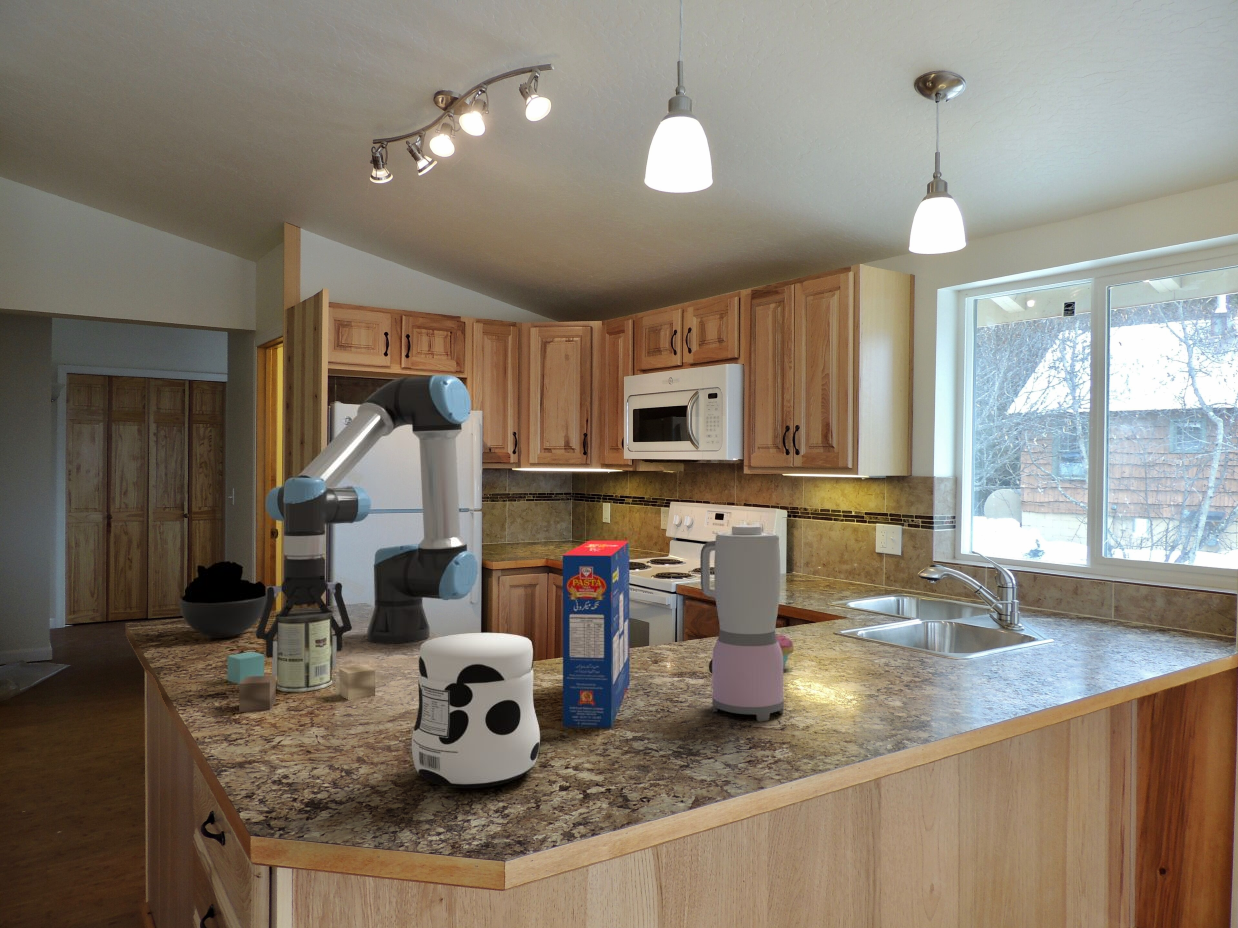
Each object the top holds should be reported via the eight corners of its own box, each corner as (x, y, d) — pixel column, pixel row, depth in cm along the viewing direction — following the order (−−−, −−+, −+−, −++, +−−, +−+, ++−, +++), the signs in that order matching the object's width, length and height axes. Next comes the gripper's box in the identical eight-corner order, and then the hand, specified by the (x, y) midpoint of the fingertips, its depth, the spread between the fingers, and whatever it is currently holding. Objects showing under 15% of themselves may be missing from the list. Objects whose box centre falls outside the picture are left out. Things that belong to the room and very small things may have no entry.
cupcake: (748, 670, 172) (748, 612, 172) (757, 661, 180) (757, 606, 180) (790, 674, 169) (789, 615, 169) (797, 664, 177) (797, 608, 177)
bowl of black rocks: (255, 626, 222) (255, 556, 222) (277, 638, 206) (277, 562, 206) (171, 635, 209) (171, 561, 209) (188, 649, 193) (188, 568, 194)
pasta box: (589, 682, 163) (588, 540, 163) (629, 683, 162) (629, 540, 162) (562, 726, 135) (562, 555, 135) (611, 727, 134) (611, 555, 134)
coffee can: (291, 678, 166) (292, 608, 166) (341, 679, 165) (341, 608, 165) (265, 691, 156) (265, 617, 156) (317, 693, 155) (317, 617, 155)
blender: (797, 709, 144) (796, 525, 144) (762, 726, 134) (761, 529, 134) (720, 694, 154) (719, 522, 154) (682, 708, 144) (681, 525, 144)
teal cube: (251, 675, 169) (251, 651, 169) (264, 679, 166) (264, 654, 166) (227, 680, 165) (227, 655, 165) (239, 684, 162) (239, 659, 162)
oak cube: (365, 690, 157) (365, 664, 157) (375, 696, 153) (375, 669, 153) (339, 695, 154) (339, 668, 154) (348, 700, 150) (348, 673, 150)
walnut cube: (275, 702, 149) (275, 675, 149) (269, 710, 144) (269, 682, 144) (245, 704, 148) (246, 676, 148) (239, 712, 143) (239, 683, 143)
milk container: (543, 752, 122) (543, 630, 122) (535, 798, 105) (535, 656, 105) (425, 753, 122) (425, 631, 122) (398, 800, 104) (398, 658, 105)
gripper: (361, 552, 169) (361, 660, 169) (240, 557, 159) (239, 673, 159) (367, 555, 163) (367, 668, 162) (241, 561, 152) (241, 682, 152)
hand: (304, 670), depth 161 cm, fingers closed on coffee can, 10 cm apart
